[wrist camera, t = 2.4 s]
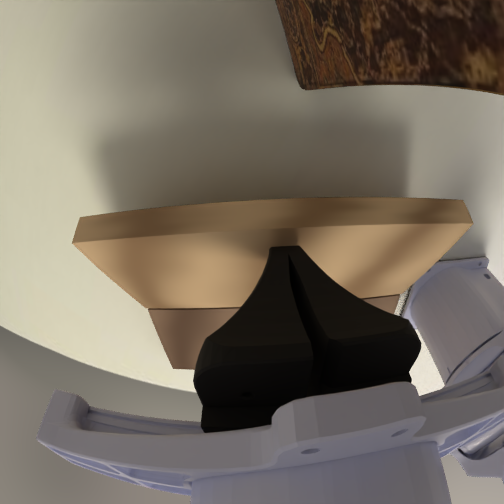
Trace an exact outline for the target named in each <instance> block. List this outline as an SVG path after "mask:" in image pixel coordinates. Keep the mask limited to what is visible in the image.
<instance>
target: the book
mask: <svg viewBox="0 0 504 504" xmlns="http://www.w3.org/2000/svg"><path fill="white" fill-rule="evenodd" d="M275 1H276V5H277V8H278V11H279V14H280V18H281V21H282V25H283V28H284V32H285V35H286V39H287V42H288V46H289V50H290V53H291V57H292V61H293V65H294V69H295V73H296V77H297V80H298V83H299V85H300V87H301V88H302V89H305V90H316V89H324V88H335V87H347V86H364V85H423V86H439V87H450V88H460V89H468V90H475V91H482V92H488V93H493V94H499V95H504V0H275Z"/></svg>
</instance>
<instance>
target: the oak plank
mask: <svg viewBox="0 0 504 504" xmlns="http://www.w3.org/2000/svg"><path fill="white" fill-rule="evenodd" d="M473 224H474V223H473V221H472V219H471V216H470V214H469V212H468V210H467V207H466V205H465V203H464V201H463V200H453V199H432V198H399V197H325V198H289V199H266V200H247V201H231V202H217V203H203V204H191V205H180V206H169V207H159V208H150V209H141V210H132V211H123V212H115V213H108V214H100V215H93V216H86V217H80V219H79V222H78V225H77V228H76V231H75V235H74V238H73V241H72V244H73V245H75V246H76V247H77V248H78V249H79V250H80V251H81V252H82V253H83V254H84V255H85V256H86V257H87V258H88V259H89V260H90V261H91V262H92V263H94V264H95V265H96V266H97V267H98V268H99V269H100V270H101V271H102V272H104V273H105V274H106V275H107V276H108V277H109V278H110V279H111V280H113V281H114V282H115V283H116V284H117V285H118V286H120V287H121V288H122V289H123V290H124V291H126V292H127V293H128V294H129V295H130V296H132V297H133V298H134V299H135V300H136V301H138V302H139V303H140V304H141V305H143V306H144V307H145V308H221V307H241V306H242V305H243V304H244V302H245V301H246V300H247V299H248V297H249V296H250V294H251V293H252V291H253V290H254V288H255V286H256V285H257V283H258V281H259V279H260V277H261V275H262V273H263V270H264V268H265V265H266V263H267V259H268V255H269V249H270V248H271V247H278V246H297V245H299V246H300V247H301V248H302V249H303V250H304V251H305V252H306V253H307V254H308V256H309V257H310V258H311V259H312V260H313V261H314V262H315V263H316V264H317V265H318V266H319V267H320V268H321V269H322V270H323V271H324V272H325V273H326V274H327V275H328V276H329V277H331V278H332V279H333V280H334V281H335V282H337V283H338V284H339V285H340V286H342V287H343V288H345V289H346V290H347V291H349V292H350V293H352V294H354V295H355V296H357V297H359V298H369V297H378V296H387V295H395V294H402V293H403V292H405V291H406V290H407V289H408V288H409V287H410V286H411V285H413V284H414V283H415V282H416V281H417V280H418V279H419V278H420V277H421V276H422V275H424V274H425V273H426V272H427V271H428V270H429V269H430V268H431V267H432V266H433V265H434V264H435V263H436V262H437V261H438V260H439V259H440V258H441V257H442V256H443V255H444V254H445V253H446V252H447V251H448V250H449V249H450V248H451V247H452V246H453V245H454V244H455V243H456V242H457V241H458V240H459V239H460V238H461V237H462V236H463V235H464V234H465V232H466V231H467V230H468V229H469V228H470V227H471V226H472V225H473Z"/></svg>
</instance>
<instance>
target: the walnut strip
mask: <svg viewBox="0 0 504 504" xmlns="http://www.w3.org/2000/svg"><path fill="white" fill-rule="evenodd" d="M399 297H400V294H395V295H387V296H378V297H369V298H360V299H362V300H364V301H365V302H367V303H369V304H371V305H373V306H375V307H377V308H380V309H382V310H384V311H386V312H389V313H392V314H394V312H395V309H396V306H397V303H398V300H399ZM239 309H240V307H221V308H148V311H149V314H150V316H151V319H152V321H153V324H154V326H155V329H156V331H157V333H158V336H159V338H160V341H161V343H162V345H163V347H164V350H165V352H166V354H167V356H168V359H169V361H170V363H171V365H172V367H173V369H193V370H195V366H196V362H197V359H198V355H199V353H200V350H201V347H202V345H203V343H204V341H205V339H206V338H207V337H208V336H210V335H211V334H212V333H214V332H215V331H216V330H217V329H219V328H220V327H221V326H222V325H224V324H225V323H226V322H227V321H228V320H229V319H230V318H231V317H232V316H233V315H234V314H235V313H236V312H237V311H238V310H239Z"/></svg>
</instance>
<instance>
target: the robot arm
mask: <svg viewBox="0 0 504 504" xmlns="http://www.w3.org/2000/svg"><path fill="white" fill-rule="evenodd" d="M488 263H489V259H488V258H487V257H482V258H472V259H462V260H452V261H442V262H436V263H435V264H434V265H433V266H432V267H431V268H430V269H429V270H428V271H427V272H426V273H425V274H424V275H422V276H421V277H420V278H419V279H418V280H417V281H416V282H415V283H414V284H413V285H412V288H411V291H410V294H409V297H408V300H407V302H406V305H405V308H404V311H403V313H402V316H401V317H400V316H397V315H394V314H392V313H389V312H386V311H384V310H382V309H380V308H377V307H375V306H373V305H371V304H369V303H367V302H365V301H364V300H362V299H360V298H359V297H357V296H355V295H354V294H352V293H350V292H349V291H347V290H346V289H345V288H343V287H342V286H340V285H339V284H338V283H337V282H335V281H334V280H333V279H332V278H331V277H329V276H328V275H327V274H326V273H325V272H324V271H323V270H322V269H321V268H320V267H319V266H318V265H317V264H316V263H315V262H314V261H313V260H312V259H311V258H310V257H309V256H308V254H307V253H306V252H305V251H304V250H303V249H302V248H301V247H300V246H299V245H297V246H278V247H271V248H270V249H269V255H268V259H267V263H266V265H265V268H264V270H263V273H262V275H261V277H260V279H259V281H258V283H257V285H256V286H255V288H254V290H253V291H252V293H251V294H250V296H249V297H248V299H247V300H246V301H245V302H244V304H243V305H242V306H241V307H240V309H239V310H238V311H237V312H236V313H235V314H234V315H233V316H232V317H231V318H230V319H229V320H228V321H227V322H226V323H225V324H224V325H222V326H221V327H220V328H219V329H217V330H216V331H215V332H214V333H212V334H211V335H210V336H208V337H207V338H206V339H205V341H204V343H203V345H202V347H201V350H200V353H199V355H198V359H197V362H196V366H195V372H194V379H193V382H194V387H195V389H196V392H197V394H198V396H199V398H200V400H201V403H202V405H203V409H202V418H201V422H193V421H180V420H169V419H160V418H152V417H144V416H138V415H131V414H126V413H120V412H115V411H110V410H105V409H100V408H95V407H91V406H89V404H88V403H87V402H86V401H85V400H84V399H83V398H82V397H81V396H79V395H77V394H74V393H71V392H67V391H63V390H59V389H55V390H54V392H53V394H52V397H51V399H50V402H49V404H48V407H47V409H46V412H45V414H44V417H43V420H42V422H41V425H40V428H39V431H38V434H37V437H36V439H37V441H39V442H40V443H42V444H43V445H44V446H46V447H47V448H49V449H50V450H52V451H53V452H55V453H56V454H58V455H60V456H61V457H63V458H64V459H66V460H67V461H69V462H71V463H73V464H75V465H78V466H80V467H83V468H86V469H89V470H91V471H94V472H97V473H100V474H103V475H106V476H109V477H112V478H116V479H119V480H122V481H125V482H129V483H132V484H136V485H140V486H144V487H148V488H152V489H156V490H161V491H166V492H171V493H176V494H182V495H188V496H191V501H190V504H452V503H451V499H450V494H449V490H448V486H447V481H446V477H445V473H444V470H443V466H442V463H441V459H440V458H441V457H443V456H445V455H447V454H451V455H452V456H454V457H455V458H456V460H457V461H458V462H459V463H460V465H461V466H462V468H463V470H464V471H465V472H466V474H467V476H472V477H496V478H497V477H498V478H502V481H503V483H504V287H503V286H502V284H501V283H500V282H499V281H498V280H497V279H496V278H495V276H494V275H493V274H492V273H491V272H490V271H489V270H488V269H487V266H488ZM415 329H418V331H419V333H420V334H421V336H422V338H423V340H424V342H425V344H426V346H427V348H428V350H429V352H430V354H431V356H432V358H433V360H434V362H435V365H436V367H437V369H438V371H439V373H440V375H441V378H442V380H443V382H444V384H445V386H444V387H443V388H442V389H440V390H437V391H434V392H431V393H428V394H425V395H422V396H419V395H418V392H417V389H416V387H415V386H414V385H413V384H411V382H412V379H411V376H410V374H409V371H410V369H411V367H412V366H413V364H414V362H415V361H416V359H417V357H418V355H419V353H420V350H421V342H420V340H419V338H418V335H417V333H416V331H415Z"/></svg>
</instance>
